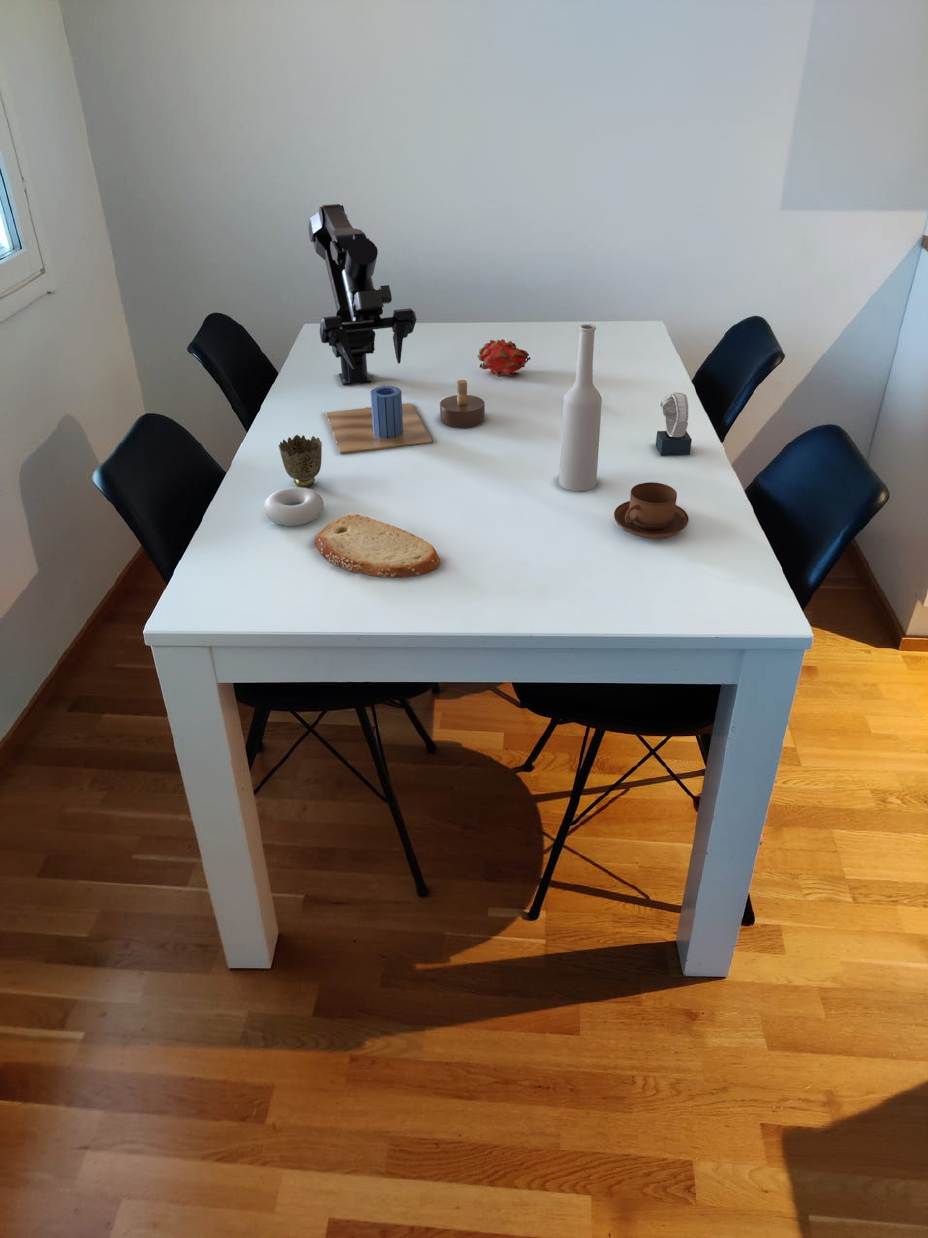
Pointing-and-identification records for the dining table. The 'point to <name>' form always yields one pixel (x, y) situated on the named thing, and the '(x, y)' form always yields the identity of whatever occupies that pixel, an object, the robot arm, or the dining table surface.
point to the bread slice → (375, 548)
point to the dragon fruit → (502, 357)
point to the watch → (674, 426)
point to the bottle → (581, 422)
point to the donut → (293, 506)
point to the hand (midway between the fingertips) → (376, 365)
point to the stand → (462, 409)
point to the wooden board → (358, 430)
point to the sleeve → (387, 411)
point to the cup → (302, 459)
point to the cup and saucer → (651, 511)
